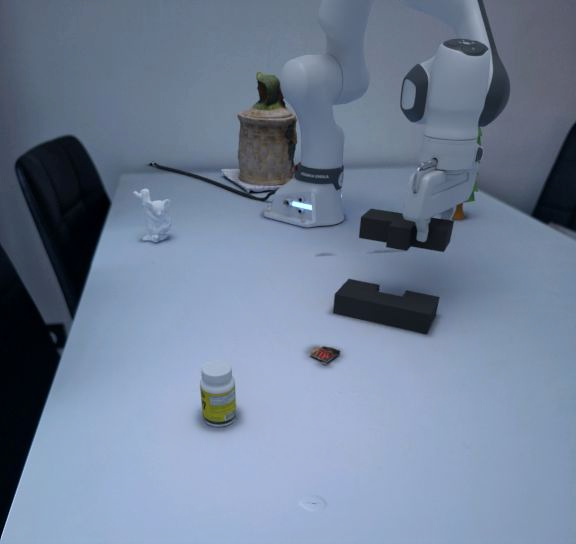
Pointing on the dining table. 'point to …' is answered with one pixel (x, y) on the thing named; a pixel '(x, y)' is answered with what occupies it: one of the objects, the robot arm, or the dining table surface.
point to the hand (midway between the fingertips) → (433, 234)
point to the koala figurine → (155, 216)
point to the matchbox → (324, 353)
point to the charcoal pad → (386, 306)
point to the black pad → (403, 231)
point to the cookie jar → (265, 140)
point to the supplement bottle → (218, 393)
